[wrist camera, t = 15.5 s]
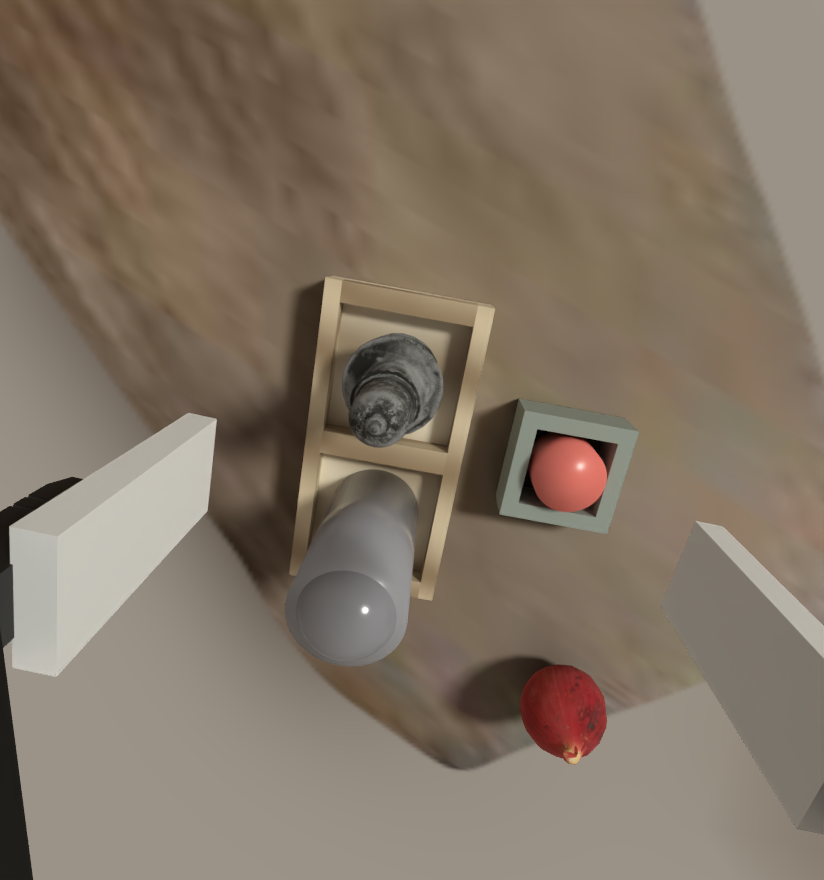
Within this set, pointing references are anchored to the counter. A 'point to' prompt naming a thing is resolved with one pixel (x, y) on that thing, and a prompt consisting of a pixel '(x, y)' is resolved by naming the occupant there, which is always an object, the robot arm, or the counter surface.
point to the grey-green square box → (574, 422)
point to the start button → (566, 472)
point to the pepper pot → (357, 572)
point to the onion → (563, 711)
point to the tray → (416, 454)
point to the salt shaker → (391, 388)
